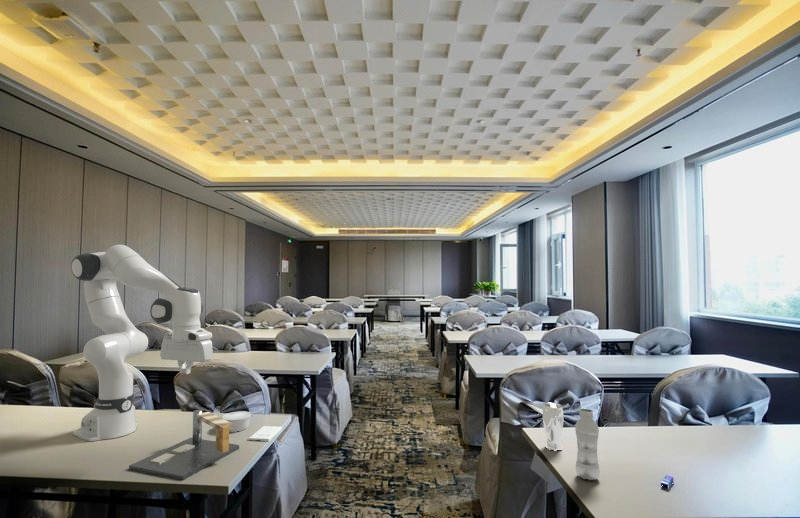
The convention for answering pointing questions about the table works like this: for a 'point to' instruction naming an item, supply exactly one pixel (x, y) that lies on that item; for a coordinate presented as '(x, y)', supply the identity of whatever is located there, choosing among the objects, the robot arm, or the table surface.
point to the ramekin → (238, 420)
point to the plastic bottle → (587, 446)
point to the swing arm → (218, 429)
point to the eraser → (667, 481)
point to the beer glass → (553, 425)
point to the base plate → (183, 456)
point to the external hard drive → (265, 433)
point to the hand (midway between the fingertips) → (185, 373)
